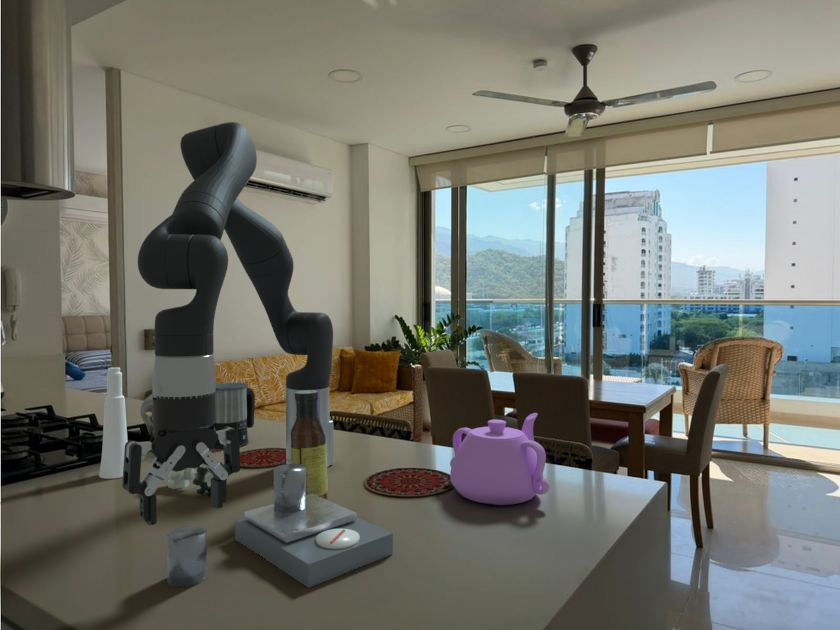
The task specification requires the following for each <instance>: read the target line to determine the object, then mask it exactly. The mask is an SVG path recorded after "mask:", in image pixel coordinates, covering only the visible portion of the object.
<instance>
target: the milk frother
mask: <svg viewBox="0 0 840 630" xmlns="http://www.w3.org/2000/svg"><path fill="white" fill-rule="evenodd" d="M255 397H256V396H255V393H254V390H253V389H252V388H251V387H248V384H247V383H244V382H223V383H222V382H220V383H216V388H215V429H216V431H219V430H223V428H224V427H226V426H228V427H231V428H234V429H237V430H238V432H239V447H240V448H241V447H242V446H243V447H244V446H246V445H247V444H249V437H248V428H249V429H251V428H253V427H254V424H255V405H256V398H255ZM213 449H223V445H222V444H221V443H220V441H219V439H218V441H217V443H216V444H215V446H214V448H213Z"/></svg>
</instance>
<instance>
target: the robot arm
mask: <svg viewBox="0 0 840 630" xmlns="http://www.w3.org/2000/svg"><path fill="white" fill-rule="evenodd" d="M179 146H180V151H181V155H182V158H183V161H184V163H185V165H186V168H187V170H188V172H189V173H190V175H191V177H192V179H193V181H191V183H190V184H189V185H188V186H187V187H186V188H185V189H184V190H183V191H182V193H181V194H180V196H179V198H178V200H177V201H176V204H175V207H174V210H173V212H172V214H171V215H169V216H168V217H167V218H165V219H164V220H162V222H160V224H158V225H157V226H156V227H154V228H153V229H152V230H151V231H150V233H148V234H147V236H146V237H145V238H144V240H143V241H142V244H141V246H140V248H139V250H138V251H139V252H138V256H137V269H138V271H139V274H140V277H141V278H142V280H143V281H144V282H145V283H146V284H148V285H149V286H150V287H153V288H156V289H160V290H196V291H195V294H194V296H193V298H192V299H191V301H190V302H189V303H187V304H184V305H181V306H175V307H171V308H166V309H162V310H160V311H158V313H157V314H156V315H155V319H154V362H153V369H152V394H153V429H152V435H151V438H150V440H149V441H139V442H138V441H137V442H135V441H133V440H128V442H127V443H126V444H125V450H124V467H123V477H122V484H121V485H122V489H124V490H125V491H127V492H128V493H129V494H130V495H139V517H140V519H141V520H142V521H144V522H145V523H146V524H147V526H148V525H149V526H154V525H156V524H157V519H158V518H157V517H158V516H157V495H156V494H155V493H156V490H157V489H158V488H159V486H160V485H161V483H162V482H163V481H164V480H166V479H167V477H168V475H169V473H170V472H171V470H172V471H175V472H177V471H182V470H184V469H186V468H198V467H201V466H202V465H203V466H204V468H207V469H208V470H209V472H210V473H211V474H212V475H213V478H211V483H210V486H211V496H210V505H211V506H212V507H213V508H214V509H216V510H217V509H221V508H223V505H224V503H225V502H226V501H227V479H228V477H229V476H231V475H232V474H236V473H239V472H240V471H241V466H242V465H241V454H240V453H241V450H240V448H241V447H239V432H238V430H237V429H234V428H231V427H228V426H226V427H224V428H223V430H219V431H216V429H215V388H216V384H217V380H216V366H215V359H214V329H215V327H214V324H215V323H214V322H215V316H216V310H217V305H218V301H219V298H220V294H221V291H222V287H223V285H224V281H225V278H226V275H227V272H228V266H229V254H228V251H227V248H226V246H225V244H224V242H222V241H221V240H222V237H223V235H224V232H225V233H226V235H227V237H228V239H229V241H230V243H231V245H232V247H233V249H234V251H235V253H236V255H237V258H238V259H239V262H240V263H241V265H242V267H243V269H244V271H245V273H246V275H247V277H248V278H249V280H250V282H251V284H252V285H253V287H254V289H255V291H256V294H257V296H258V298H259V300H260V302H261V304H262V306H263V308H264V311H265V313H266V315H267V317H268V320H269V322H270V325H271V328H272V331H273V333H274V336H275V339H276V341H277V343H278V345H279V346H280V349H282V351H284V352H285V353H287V354H290V355H293V356H294V355H295V356H307V357H306V363H305V365H304V366H303V367H301V368H300V369H297V370H294V371H291V372H289V373H288V374H286V377H285V452H286V454H285V455H286V456H285V460H286V461H285V463H286V464H291V429H292V427H293V425H294V423H295V421H296V418H297V417H296V413H297V410H296V409H297V408H296V400H295V392H297V391H303V390H315V391H318V400H317V406H318V416H319V419H320V422H321V425H322V428H323V432H324V434H325V437H326V452H327V468H329V467H330V466H333V465H334V421H333V420H331V419H330V413H331V411H330V410H331V409H330V380H331V375H332V369H333V367H332V366H333V347H334V328H333V323H332V320H331V318H330V316H329V315H328V314H326V313H323V312H313V311H311V312H310V311H309V312H307V311H305V312H303V311H301V312H300V311H297V310H296V309H295V308H294V305H293V304H292V302H291V299H290V297H289V288H290V284H291V281H292V278H293V272H294V268H295V267H294V258H293V256H292V254H291V253H292V252H291V251H290V249H289V246H288V245H287V242H286V240H285V238H284V236H283V234H282V232H281V230H279V229H278V228H277V227H276V225H275V224H273V223H272V222H270V221H269V220H268V219H266V218H265V217H263V216H262V215H260V214H259V213H257V212H255V211H254V210H253V209H251V208H250V207H249V206H246V205H245V204H244V203H243V202H242V201H241V200H240V199H239V198H238V197H239V196H240V194H241V192H242V191H243V189H244V188H245V186H246V185H247V183H248V182H249V180H250V179H251V178H252V176H253V175H254V172H255V170H256V167H257V160H258V159H257V150H256V147H255V144H254V141H253V139H252V136H251V134H250V132H249V131H248V129H246V127H245V126H243V124H242V123H239V122H234V121H228V122H223V123H219V124H215V125H211V126H208V127H207V126H206V127H204V128H200V129H197V130H192V131H190V132H187V133H185V134H184V135H183V136H181V139H180V145H179ZM218 439H219V441H220V443H221V444H222V445H223V448H222V450H223V465H221V464H220V462H221V461H219V460H218V458H217V457H216V456H215V455H214V454H213V452H212V451H213V450H214V449H215V448H214V446H215V444H216V443H217V441H218ZM148 452H151V453H152V454H153V455H154V456H155V458H154V460H153V461H151V463H150V465H149V466H148V468H147V471H146V473H145V475H144V477H143V478H142V479H141V468H142V466H141V465H142V461H143V460H145V459H146V456H147V453H148Z"/></svg>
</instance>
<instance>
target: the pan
mask: <svg viewBox="0 0 840 630" xmlns="http://www.w3.org/2000/svg"><path fill="white" fill-rule="evenodd" d="M243 513H244V516H243V518H245V519H246V520H248V521H250V522H251V523H253V524H255V525H257V526H258V527H260V528H262V529H263V530H265V531H267V532H269V533H270V534H272V535H274V536H275V537H277V538H279V539H281V540H282V541H284V542H286V543H287V542H291V541H294V540H297V539H300V538H303V537H306V536H309V535H312V534H315V533H318V532H321V531H324V530H327V529H330V528H333V527H336V526H339V525H342V524H345V523H348V522H351V521H354V520H357V518H358V513H357V512H356V511H353V510H351V509H348V508H346V507H344V506H341V505H340V504H338V503H335V502H333V501H331V500H328V499H327V500H326V499H324V498H322V497H319V496H317V495H315V494H308V495H306V507H305V508H304V509H303V510H301V511H298V512H293V513H281V512H277V511H275V510H274V503H271V504H268V505H265V506H262V507H260V506H259V507H257V508H253V509H249V510H245V511H244V512H243Z"/></svg>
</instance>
